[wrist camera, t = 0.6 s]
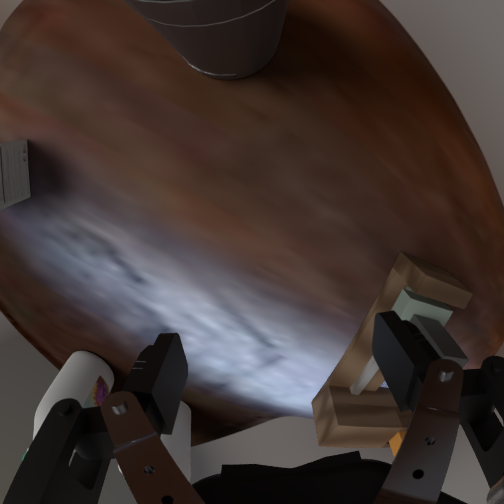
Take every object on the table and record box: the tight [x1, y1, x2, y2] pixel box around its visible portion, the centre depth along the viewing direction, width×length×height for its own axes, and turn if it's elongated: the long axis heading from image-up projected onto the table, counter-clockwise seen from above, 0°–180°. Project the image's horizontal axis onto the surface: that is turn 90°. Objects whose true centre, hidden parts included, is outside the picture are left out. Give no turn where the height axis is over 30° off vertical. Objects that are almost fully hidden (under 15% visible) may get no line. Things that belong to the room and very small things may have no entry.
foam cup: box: [118, 401, 191, 481], centre depth 34 cm, size 10×9×13 cm
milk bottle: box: [22, 351, 114, 461], centre depth 28 cm, size 8×8×20 cm
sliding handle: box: [391, 286, 469, 368], centre depth 26 cm, size 5×7×11 cm
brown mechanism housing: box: [312, 252, 473, 448], centre depth 31 cm, size 24×15×8 cm, turn 162°
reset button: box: [389, 431, 406, 457], centre depth 31 cm, size 2×2×4 cm
